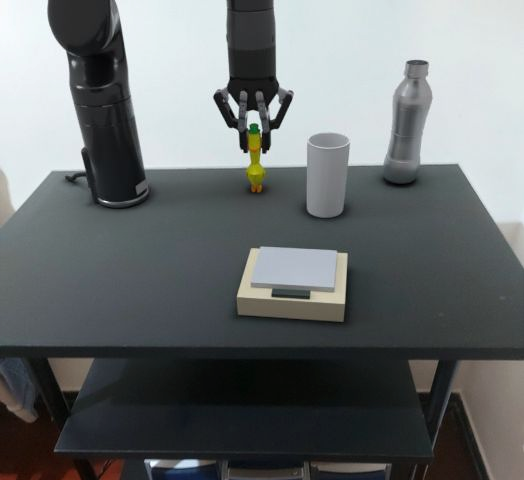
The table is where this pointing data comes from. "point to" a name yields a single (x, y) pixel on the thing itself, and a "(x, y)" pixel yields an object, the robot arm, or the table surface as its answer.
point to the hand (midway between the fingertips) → (255, 151)
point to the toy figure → (255, 158)
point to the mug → (327, 173)
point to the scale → (294, 284)
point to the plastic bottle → (408, 123)
